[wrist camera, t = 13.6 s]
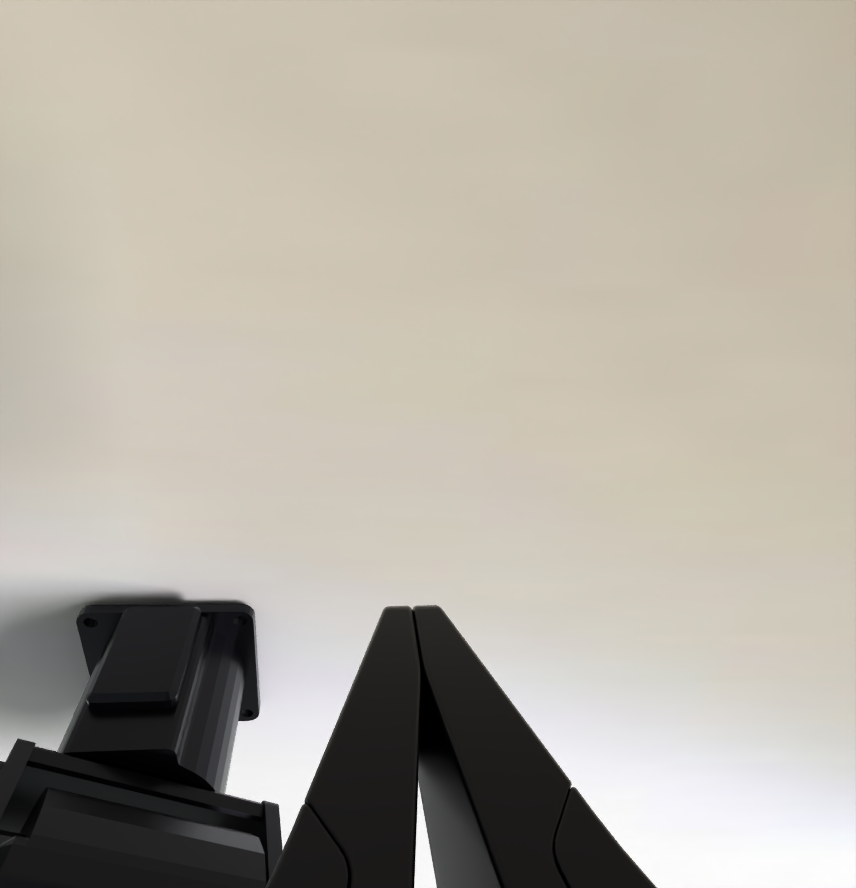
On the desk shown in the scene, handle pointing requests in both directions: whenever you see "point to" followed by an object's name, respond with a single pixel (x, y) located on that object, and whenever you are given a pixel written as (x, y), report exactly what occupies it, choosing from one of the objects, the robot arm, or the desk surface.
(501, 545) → the desk surface
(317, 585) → the desk surface
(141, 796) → the robot arm
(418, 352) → the desk surface
